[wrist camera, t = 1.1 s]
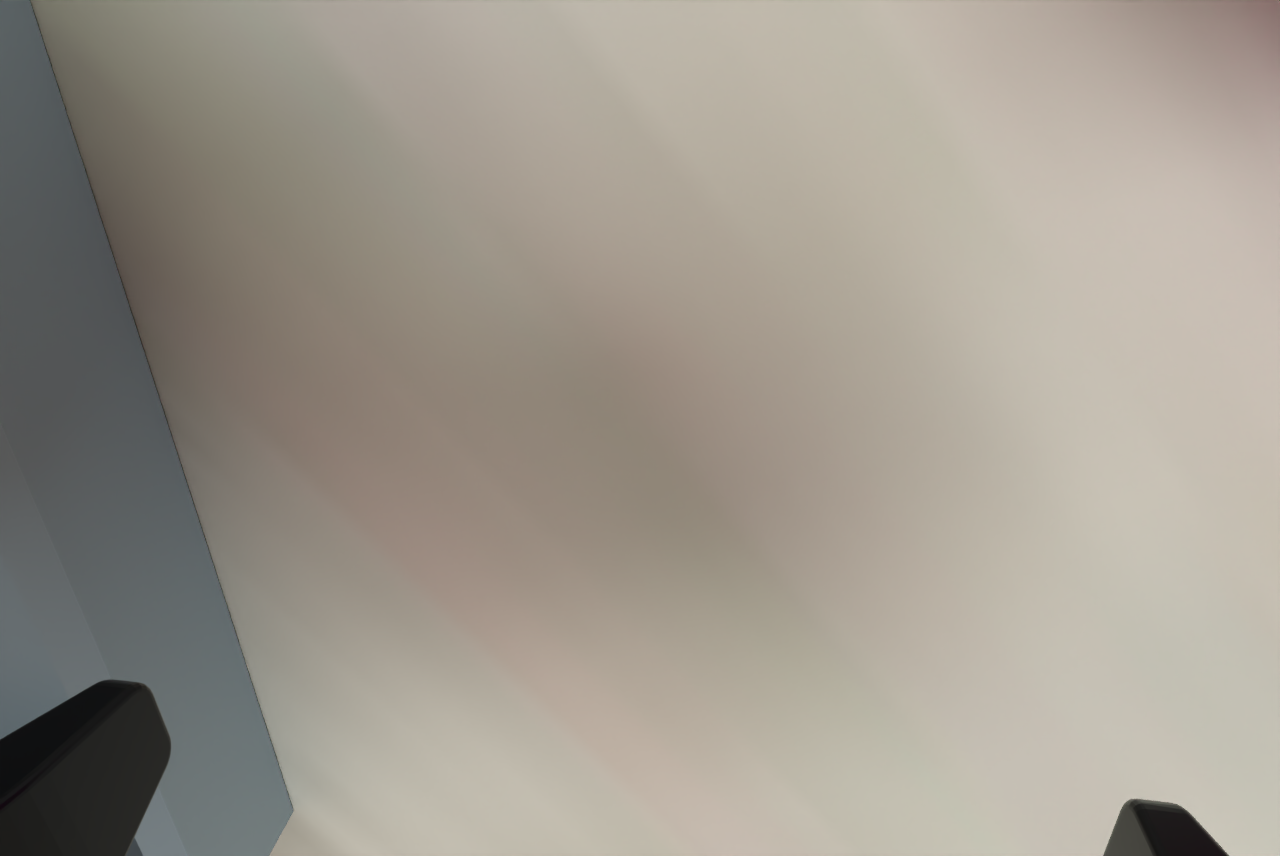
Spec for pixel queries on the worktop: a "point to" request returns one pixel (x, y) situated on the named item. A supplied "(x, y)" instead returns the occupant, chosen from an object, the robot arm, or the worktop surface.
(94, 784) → the robot arm
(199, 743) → the tray
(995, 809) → the worktop surface
